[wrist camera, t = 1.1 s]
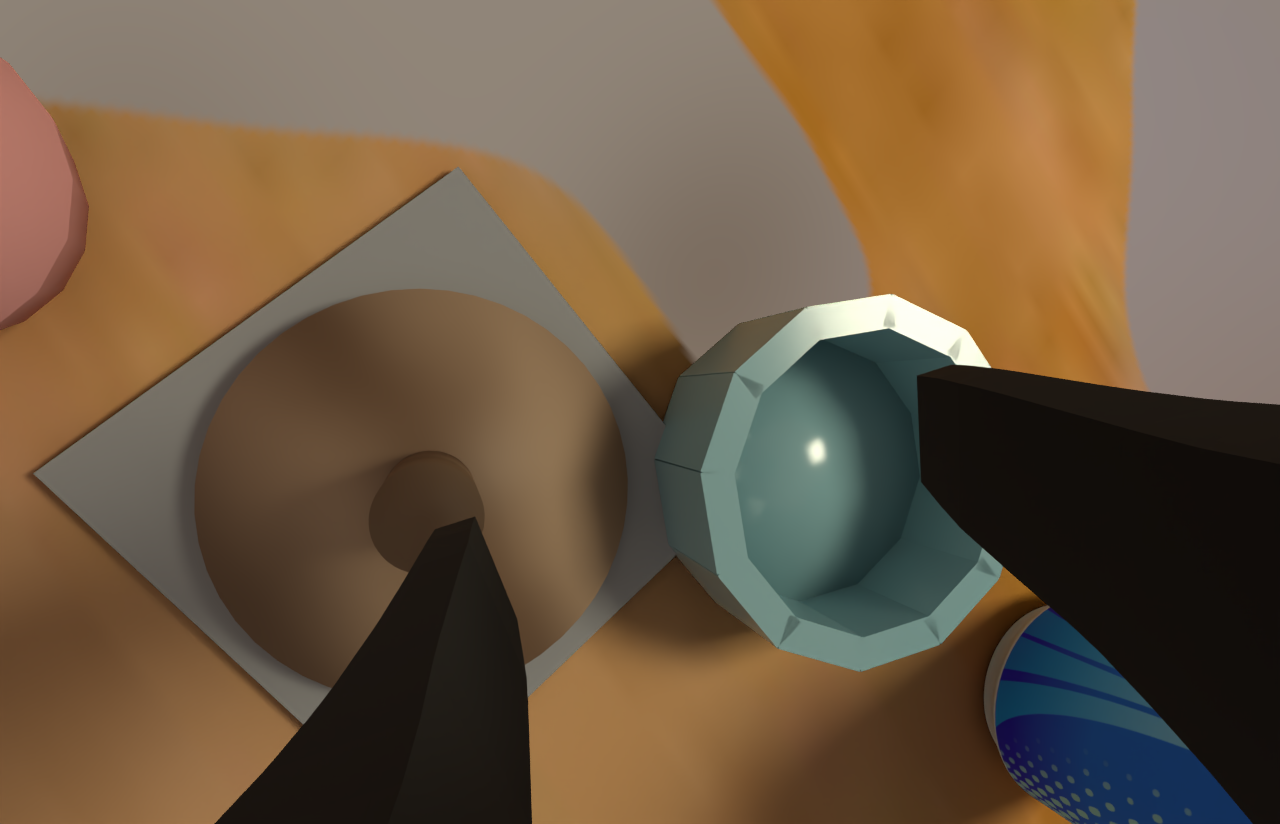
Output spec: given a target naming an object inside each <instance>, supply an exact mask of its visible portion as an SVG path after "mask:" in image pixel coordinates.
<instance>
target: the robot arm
mask: <svg viewBox="0 0 1280 824" xmlns="http://www.w3.org/2000/svg"><path fill="white" fill-rule="evenodd" d="M917 397H918V422H919V447H920V471H921V483H922V484H923V485H924V486H925V488H926V489H927V490H928V491H929V492H930V494H931V495H932V496H933V497H934V499H935V500H936V501H937V502H938V503H939V505H940V506H941V507H942V508H943V509H944V510H945V512H946V513H947V514H948V515H949V516H950V517H951V518H952V519H953V520H954V522H955V523H956V524H957V525H958V526H959V527H960V528H961V529H962V530H963V531H964V532H965V533H966V534H967V535H968V536H970V537H971V538H972V539H973V540H974V541H975V542H976V543H977V544H978V545H980V546H981V547H982V548H983V549H984V550H985V551H986V552H987V553H989V554H990V555H991V556H992V557H993V558H994V559H995V560H996V561H998V562H999V563H1000V564H1001V565H1002V566H1003V567H1004V568H1006V569H1007V570H1008V571H1009V572H1010V573H1011V574H1013V575H1014V576H1015V577H1016V578H1017V579H1018V580H1019V581H1021V582H1022V583H1023V584H1024V585H1025V586H1026V587H1028V588H1029V589H1030V590H1031V591H1032V592H1033V593H1034V594H1036V595H1037V596H1038V597H1039V598H1040V599H1041V600H1042V601H1044V602H1045V603H1046V604H1047V605H1048V606H1049V607H1050V608H1052V609H1053V610H1054V611H1055V612H1056V613H1057V614H1059V615H1060V616H1061V617H1062V618H1063V619H1064V620H1065V621H1067V622H1068V623H1069V624H1070V625H1071V626H1072V627H1073V628H1074V629H1076V630H1077V631H1078V632H1079V633H1080V634H1081V635H1082V636H1083V637H1084V638H1085V639H1086V640H1087V641H1088V642H1089V643H1090V644H1091V645H1093V646H1094V647H1095V648H1096V649H1097V650H1098V651H1099V652H1100V653H1101V654H1102V655H1103V656H1104V657H1105V658H1106V659H1107V661H1108V662H1109V663H1110V664H1111V665H1112V666H1113V667H1114V668H1115V669H1116V670H1117V671H1118V672H1119V673H1120V674H1121V675H1122V676H1123V677H1124V678H1125V680H1126V681H1127V682H1128V683H1129V684H1130V685H1131V686H1132V687H1133V688H1134V689H1135V690H1136V691H1137V692H1138V693H1139V694H1140V695H1141V696H1142V698H1143V699H1144V700H1145V701H1146V702H1147V703H1148V704H1149V705H1150V706H1151V707H1152V708H1153V709H1154V710H1155V711H1156V713H1157V714H1158V715H1159V716H1160V717H1161V718H1162V719H1163V720H1164V722H1165V723H1166V724H1167V725H1168V726H1169V727H1170V728H1171V729H1172V731H1173V732H1174V733H1175V734H1176V735H1177V736H1178V737H1179V738H1180V740H1181V741H1182V742H1183V743H1184V744H1185V745H1186V746H1187V747H1188V748H1189V750H1190V751H1191V752H1192V753H1193V754H1194V755H1195V756H1196V757H1197V759H1198V760H1199V761H1200V762H1201V763H1202V764H1203V765H1204V766H1205V768H1206V769H1207V770H1208V771H1209V772H1210V773H1211V774H1212V776H1213V777H1214V778H1215V779H1216V780H1217V782H1218V783H1219V784H1220V785H1221V786H1222V788H1223V789H1224V790H1225V791H1226V792H1227V794H1228V795H1229V796H1230V797H1231V798H1232V800H1233V801H1234V802H1235V803H1236V804H1237V806H1238V807H1239V808H1240V809H1241V810H1242V811H1243V813H1244V814H1245V815H1246V816H1247V817H1248V819H1249V820H1250V821H1251V822H1252V823H1253V824H1280V405H1276V404H1262V403H1247V402H1233V401H1223V400H1213V399H1203V398H1194V397H1186V396H1177V395H1169V394H1161V393H1153V392H1145V391H1138V390H1131V389H1124V388H1117V387H1110V386H1103V385H1097V384H1090V383H1084V382H1078V381H1072V380H1065V379H1059V378H1053V377H1047V376H1041V375H1034V374H1028V373H1022V372H1016V371H1009V370H1002V369H995V368H988V367H979V366H969V365H948V366H945V367H942V368H939V369H936V370H933V371H930V372H926V373H923V374H920V375H917ZM215 824H532V810H531V779H530V748H529V719H528V693H527V676H526V670H525V663H524V657H523V650H522V644H521V638H520V632H519V627H518V621H517V617H516V614H515V612H514V610H513V607H512V605H511V602H510V600H509V597H508V595H507V593H506V590H505V588H504V585H503V583H502V580H501V578H500V576H499V573H498V571H497V568H496V566H495V563H494V561H493V559H492V556H491V554H490V551H489V549H488V546H487V544H486V542H485V539H484V537H483V534H482V532H481V529H480V527H479V524H478V522H477V520H476V517H472V518H468V519H465V520H462V521H459V522H456V523H453V524H450V525H446V526H443V527H440V528H437V529H435V530H434V531H433V533H432V534H431V536H430V537H429V539H428V541H427V542H426V544H425V546H424V547H423V549H422V551H421V552H420V554H419V556H418V557H417V559H416V561H415V563H414V564H413V566H412V568H411V569H410V571H409V573H408V574H407V576H406V578H405V579H404V581H403V583H402V584H401V586H400V588H399V589H398V591H397V592H396V594H395V596H394V597H393V599H392V600H391V602H390V604H389V605H388V607H387V608H386V610H385V612H384V613H383V615H382V616H381V618H380V620H379V621H378V623H377V624H376V626H375V627H374V629H373V630H372V632H371V633H370V635H369V636H368V637H367V639H366V640H365V642H364V643H363V645H362V646H361V647H360V649H359V650H358V652H357V653H356V655H355V656H354V657H353V659H352V660H351V662H350V663H349V665H348V666H347V668H346V669H345V670H344V672H343V673H342V675H341V676H340V678H339V679H338V680H337V682H336V683H335V685H334V686H333V687H332V689H331V690H330V691H329V693H328V694H327V695H326V697H325V698H324V699H323V701H322V702H321V703H320V704H319V706H318V707H317V708H316V709H315V711H314V712H313V713H312V715H311V716H310V717H309V718H308V720H307V721H306V722H305V723H304V724H303V726H302V727H301V728H300V729H299V730H298V732H297V733H296V734H295V735H294V736H293V738H292V739H291V740H290V741H289V742H288V744H287V745H286V746H285V747H284V748H283V750H282V751H281V752H280V753H279V754H278V756H277V757H276V758H275V759H274V760H273V761H272V763H271V764H270V765H269V766H268V767H267V768H266V769H265V771H264V772H263V773H262V774H261V775H260V776H259V777H258V778H257V779H256V780H255V781H254V782H253V783H252V785H251V786H250V787H249V788H248V789H247V790H246V791H245V792H244V793H243V794H242V795H241V796H240V797H239V798H238V799H237V800H236V802H235V803H234V804H233V805H232V806H231V807H230V808H229V809H228V810H227V811H226V812H225V813H224V814H223V815H222V816H221V817H220V819H219V820H218V821H217V822H216V823H215Z"/></svg>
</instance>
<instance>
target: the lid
mask: <svg viewBox="0 0 1280 824" xmlns="http://www.w3.org/2000/svg"><path fill="white" fill-rule="evenodd" d="M627 493H628V476H627V467H626V457H625V451H624V447H623V443H622V439H621V435H620V430H619V428H618V425H617V422H616V420H615V417H614V415H613V412H612V409H611V407H610V405H609V403H608V401H607V399H606V397H605V396H604V394H603V392H602V390H601V388H600V386H599V385H598V383H597V382H596V380H595V379H594V378H593V376H592V375H591V373H590V372H589V371H588V369H587V368H586V366H585V365H584V364H583V363H582V362H581V361H580V360H579V359H578V357H577V356H576V355H575V354H574V353H573V352H572V351H571V350H570V349H569V348H568V347H567V346H566V345H565V344H564V343H563V342H561V341H560V340H559V339H558V338H557V337H555V336H554V335H553V334H552V333H551V332H549V331H548V330H547V329H545V328H544V327H542V326H541V325H539V324H537V323H536V322H534V321H533V320H531V319H530V318H528V317H527V316H525V315H523V314H521V313H519V312H516V311H514V310H512V309H510V308H508V307H506V306H504V305H502V304H499V303H496V302H493V301H490V300H487V299H484V298H480V297H477V296H474V295H469V294H464V293H458V292H453V291H448V290H433V289H404V290H390V291H384V292H379V293H373V294H368V295H363V296H359V297H356V298H353V299H350V300H347V301H344V302H341V303H338V304H334V305H332V306H330V307H328V308H326V309H324V310H322V311H319V312H317V313H315V314H313V315H311V316H309V317H307V318H305V319H304V320H302V321H300V322H299V323H297V324H296V325H294V326H293V327H291V328H290V329H288V330H286V331H285V332H283V333H282V334H281V335H279V336H278V337H277V338H276V339H275V340H273V341H272V342H271V343H270V344H269V345H267V346H266V347H265V348H264V349H263V350H262V351H260V352H259V353H258V354H257V355H256V356H255V358H254V359H253V360H252V361H251V362H250V363H249V364H248V365H247V366H246V368H245V369H244V370H243V371H242V372H241V373H240V374H239V375H238V377H237V378H236V380H235V381H234V383H233V384H232V386H231V387H230V389H229V390H228V392H227V393H226V394H225V396H224V397H223V399H222V400H221V403H220V405H219V407H218V409H217V411H216V413H215V415H214V417H213V419H212V421H211V423H210V425H209V427H208V430H207V433H206V437H205V440H204V443H203V446H202V449H201V452H200V455H199V461H198V468H197V474H196V480H195V505H194V515H195V522H196V529H197V536H198V543H199V546H200V550H201V553H202V556H203V560H204V563H205V566H206V570H207V572H208V574H209V576H210V578H211V581H212V583H213V585H214V587H215V589H216V591H217V593H218V595H219V597H220V599H221V600H222V602H223V603H224V605H225V606H226V608H227V609H228V611H229V612H230V614H231V615H232V617H233V618H234V620H235V621H236V622H237V623H238V624H239V625H240V627H241V628H242V629H243V630H244V631H245V632H246V633H247V634H248V635H249V636H250V637H251V639H252V640H253V641H254V642H255V643H256V644H258V645H259V646H260V647H261V648H262V649H264V650H265V651H266V652H267V653H269V654H270V655H271V656H272V657H273V658H275V659H276V660H277V661H279V662H280V663H282V664H284V665H285V666H287V667H289V668H290V669H292V670H294V671H295V672H297V673H298V674H300V675H302V676H304V677H306V678H309V679H311V680H313V681H316V682H318V683H320V684H322V685H325V686H327V687H330V688H332V687H333V686H334V685H335V683H336V682H337V680H338V679H339V678H340V676H341V675H342V673H343V672H344V670H345V669H346V668H347V666H348V665H349V663H350V662H351V660H352V659H353V657H354V656H355V655H356V653H357V652H358V650H359V649H360V647H361V646H362V645H363V643H364V642H365V640H366V639H367V637H368V636H369V635H370V633H371V632H372V630H373V629H374V627H375V626H376V624H377V623H378V621H379V620H380V618H381V616H382V615H383V613H384V612H385V610H386V608H387V607H388V605H389V604H390V602H391V600H392V599H393V597H394V596H395V594H396V592H397V591H398V589H399V588H400V586H401V584H402V583H403V581H404V579H405V578H406V576H407V574H408V573H409V571H410V569H411V568H412V566H413V564H414V563H415V561H416V559H417V557H418V556H419V554H420V552H421V551H422V549H423V547H424V546H425V544H426V542H427V541H428V539H429V537H430V536H431V534H432V533H433V531H434V530H435V529H437V528H440V527H443V526H446V525H450V524H453V523H456V522H459V521H462V520H465V519H468V518H472V517H476V520H477V522H478V524H479V527H480V529H481V532H482V534H483V537H484V539H485V542H486V544H487V546H488V549H489V551H490V554H491V556H492V559H493V561H494V563H495V566H496V568H497V571H498V573H499V576H500V578H501V580H502V583H503V585H504V588H505V590H506V593H507V595H508V597H509V600H510V602H511V605H512V607H513V610H514V612H515V614H516V617H517V621H518V627H519V632H520V638H521V644H522V650H523V657H524V663H525V665H526V664H527V663H529V662H530V661H532V660H533V659H535V658H536V657H538V656H539V655H541V654H542V653H543V652H545V651H546V650H547V649H548V648H549V647H550V646H552V645H553V644H554V643H555V642H556V641H558V640H559V639H560V638H561V637H562V636H563V635H564V634H565V633H566V632H567V631H568V630H569V629H570V628H571V627H572V626H573V624H574V623H575V622H576V621H577V620H578V619H579V618H580V617H581V615H582V614H583V613H584V611H585V610H586V609H587V607H588V606H589V605H590V603H591V602H592V600H593V599H594V598H595V596H596V594H597V593H598V591H599V589H600V587H601V585H602V584H603V582H604V580H605V578H606V577H607V575H608V572H609V570H610V568H611V565H612V563H613V560H614V558H615V556H616V553H617V550H618V546H619V543H620V539H621V536H622V532H623V528H624V522H625V515H626V509H627Z"/></svg>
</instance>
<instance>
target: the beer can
mask: <svg viewBox="0 0 1280 824" xmlns="http://www.w3.org/2000/svg"><path fill="white" fill-rule="evenodd" d="M984 710H985V716H986V721H987V724H988V728H989V730H990V733H991V736H992V738H993V740H994V741H995V743H996V745H997V747H998V750H999V753H1000V756H1001V758H1002V761H1003V763H1004V765H1005V767H1006V769H1007V770H1008V772H1009V774H1010V775H1011V777H1012V778H1013V779H1014V780H1015V782H1016V783H1017V784H1018V785H1019V786H1020V787H1021V788H1022V789H1023V790H1024V791H1025V792H1027V793H1028V794H1029V795H1031V796H1032V797H1034V798H1035V799H1037V800H1038V801H1040V802H1041V803H1043V804H1044V805H1046V806H1047V807H1049V808H1050V809H1052V810H1053V811H1055V812H1056V813H1058V814H1059V815H1060V816H1062V817H1063V818H1065V819H1066V820H1068V821H1069V822H1071V823H1072V824H1253V823H1252V822H1251V821H1250V820H1249V819H1248V817H1247V816H1246V815H1245V814H1244V813H1243V811H1242V810H1241V809H1240V808H1239V807H1238V806H1237V804H1236V803H1235V802H1234V801H1233V800H1232V798H1231V797H1230V796H1229V795H1228V794H1227V792H1226V791H1225V790H1224V789H1223V788H1222V786H1221V785H1220V784H1219V783H1218V782H1217V780H1216V779H1215V778H1214V777H1213V776H1212V774H1211V773H1210V772H1209V771H1208V770H1207V769H1206V768H1205V766H1204V765H1203V764H1202V763H1201V762H1200V761H1199V760H1198V759H1197V757H1196V756H1195V755H1194V754H1193V753H1192V752H1191V751H1190V750H1189V748H1188V747H1187V746H1186V745H1185V744H1184V743H1183V742H1182V741H1181V740H1180V738H1179V737H1178V736H1177V735H1176V734H1175V733H1174V732H1173V731H1172V729H1171V728H1170V727H1169V726H1168V725H1167V724H1166V723H1165V722H1164V720H1163V719H1162V718H1161V717H1160V716H1159V715H1158V714H1157V713H1156V711H1155V710H1154V709H1153V708H1152V707H1151V706H1150V705H1149V704H1148V703H1147V702H1146V701H1145V700H1144V699H1143V698H1142V696H1141V695H1140V694H1139V693H1138V692H1137V691H1136V690H1135V689H1134V688H1133V687H1132V686H1131V685H1130V684H1129V683H1128V682H1127V681H1126V680H1125V678H1124V677H1123V676H1122V675H1121V674H1120V673H1119V672H1118V671H1117V670H1116V669H1115V668H1114V667H1113V666H1112V665H1111V664H1110V663H1109V662H1108V661H1107V659H1106V658H1105V657H1104V656H1103V655H1102V654H1101V653H1100V652H1099V651H1098V650H1097V649H1096V648H1095V647H1094V646H1093V645H1091V644H1090V643H1089V642H1088V641H1087V640H1086V639H1085V638H1084V637H1083V636H1082V635H1081V634H1080V633H1079V632H1078V631H1077V630H1076V629H1074V628H1073V627H1072V626H1071V625H1070V624H1069V623H1068V622H1067V621H1065V620H1064V619H1063V618H1062V617H1061V616H1060V615H1059V614H1057V613H1056V612H1055V611H1054V610H1053V609H1052V608H1050V607H1049V606H1048V605H1047V606H1044V607H1040V608H1038V609H1035V610H1033V611H1031V612H1029V613H1028V614H1026V615H1024V616H1023V617H1022V618H1020V619H1019V620H1018V621H1017V622H1015V623H1014V624H1013V625H1012V626H1011V628H1010V629H1009V630H1008V631H1007V632H1006V633H1005V635H1004V636H1003V638H1002V639H1001V640H1000V642H999V644H998V646H997V647H996V649H995V651H994V654H993V656H992V658H991V661H990V664H989V667H988V670H987V674H986V679H985V686H984Z"/></svg>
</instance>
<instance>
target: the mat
mask: <svg viewBox="0 0 1280 824" xmlns="http://www.w3.org/2000/svg"><path fill="white" fill-rule="evenodd" d="M404 289H433V290H448V291H453V292H458V293H464V294H469V295H474V296H477V297H480V298H484V299H487V300H490V301H493V302H496V303H499V304H502V305H504V306H506V307H508V308H510V309H512V310H514V311H516V312H519V313H521V314H523V315H525V316H527V317H528V318H530V319H531V320H533V321H534V322H536V323H537V324H539V325H541V326H542V327H544V328H545V329H547V330H548V331H549V332H551V333H552V334H553V335H554V336H555V337H557V338H558V339H559V340H560V341H561V342H563V343H564V344H565V345H566V346H567V347H568V348H569V349H570V350H571V351H572V352H573V353H574V354H575V355H576V356H577V357H578V359H579V360H580V361H581V362H582V363H583V364H584V365H585V366H586V368H587V369H588V371H589V372H590V373H591V375H592V376H593V378H594V379H595V380H596V382H597V383H598V385H599V386H600V388H601V390H602V392H603V394H604V396H605V397H606V399H607V401H608V403H609V405H610V407H611V409H612V412H613V415H614V417H615V420H616V422H617V425H618V428H619V430H620V435H621V439H622V443H623V447H624V451H625V457H626V467H627V476H628V493H627V509H626V515H625V522H624V528H623V532H622V536H621V539H620V543H619V546H618V550H617V553H616V556H615V558H614V560H613V563H612V565H611V568H610V570H609V572H608V575H607V577H606V578H605V580H604V582H603V584H602V585H601V587H600V589H599V591H598V593H597V594H596V596H595V598H594V599H593V600H592V602H591V603H590V605H589V606H588V607H587V609H586V610H585V611H584V613H583V614H582V615H581V617H580V618H579V619H578V620H577V621H576V622H575V623H574V624H573V626H572V627H571V628H570V629H569V630H568V631H567V632H566V633H565V634H564V635H563V636H562V637H561V638H560V639H559V640H558V641H556V642H555V643H554V644H553V645H552V646H550V647H549V648H548V649H547V650H546V651H545V652H543V653H542V654H541V655H539V656H538V657H536V658H535V659H533V660H532V661H530V662H529V663H527V664H526V665H525V670H526V676H527V693H528V697H529V696H530V695H531V694H532V693H533V692H534V691H535V690H536V689H537V688H538V687H539V686H540V685H541V684H542V683H543V682H544V681H545V680H546V679H547V678H548V677H550V676H551V675H552V674H553V673H554V672H555V671H556V670H557V669H558V668H559V667H560V666H561V665H562V664H563V663H564V662H565V661H566V660H567V659H568V658H569V657H570V656H571V655H573V654H574V653H575V652H576V651H577V650H578V649H579V648H580V647H581V646H582V645H583V644H584V643H585V642H586V641H587V640H588V639H589V638H590V637H591V636H592V635H593V634H594V633H595V632H597V631H598V630H599V629H600V628H601V627H602V626H603V625H604V624H605V623H606V622H607V621H608V620H609V619H610V618H611V617H612V616H613V615H614V614H615V613H616V612H617V611H618V610H620V609H621V608H622V607H623V606H624V605H625V604H626V603H627V602H628V601H629V600H630V599H631V598H632V597H633V596H634V595H635V594H636V593H637V592H638V591H639V590H640V589H641V588H642V587H644V586H645V585H646V584H647V583H648V582H649V581H650V580H651V579H652V578H653V577H654V576H655V575H656V574H657V573H658V572H659V571H660V570H661V569H662V568H663V567H664V566H665V565H666V564H668V563H669V562H670V561H671V560H672V559H673V558H674V557H675V556H676V555H677V554H676V553H675V552H674V551H673V549H672V548H671V547H670V546H669V544H668V539H667V533H666V527H665V521H664V515H663V509H662V503H661V497H660V491H659V485H658V479H657V473H656V467H655V461H654V460H655V455H656V452H657V449H658V446H659V443H660V440H661V438H662V435H663V432H664V429H665V426H666V425H665V424H664V423H663V422H662V420H661V419H660V418H659V417H658V415H657V414H656V413H655V412H654V410H653V409H652V408H651V407H650V405H649V404H648V403H647V402H646V400H645V399H644V398H643V397H642V395H641V394H640V393H639V392H638V390H637V389H636V388H635V387H634V385H633V384H632V383H631V382H630V380H629V379H628V378H627V377H626V375H625V374H624V373H623V372H622V370H621V369H620V368H619V367H618V365H617V364H616V363H615V362H614V360H613V359H612V358H611V357H610V355H609V354H608V353H607V352H606V350H605V349H604V348H603V347H602V345H601V344H600V343H599V342H598V340H597V339H596V338H595V337H594V335H593V334H592V333H591V332H590V330H589V329H588V328H587V327H586V325H585V324H584V323H583V322H582V320H581V319H580V318H579V317H578V315H577V314H576V313H575V312H574V310H573V309H572V308H571V307H570V305H569V304H568V303H567V302H566V300H565V299H564V298H563V297H562V295H561V294H560V293H559V292H558V290H557V289H556V288H555V287H554V285H553V284H552V283H551V282H550V280H549V279H548V278H547V277H546V275H545V274H544V273H543V272H542V270H541V269H540V268H539V267H538V265H537V264H536V263H535V262H534V260H533V259H532V258H531V257H530V255H529V254H528V253H527V252H526V250H525V249H524V248H523V247H522V245H521V244H520V243H519V242H518V240H517V239H516V238H515V237H514V235H513V234H512V233H511V232H510V230H509V229H508V228H507V227H506V225H505V224H504V223H503V222H502V220H501V219H500V218H499V217H498V215H497V214H496V213H495V212H494V210H493V209H492V208H491V207H490V205H489V204H488V203H487V202H486V200H485V199H484V198H483V197H482V195H481V194H480V193H479V192H478V190H477V189H476V188H475V187H474V185H473V184H472V183H471V182H470V180H469V179H468V178H467V177H466V175H465V174H464V173H463V172H462V170H461V169H460V168H459V167H457V168H456V169H454V170H453V171H452V172H450V173H449V174H448V175H446V176H445V177H443V178H442V179H441V180H439V181H438V182H436V183H435V184H434V185H432V186H431V187H429V188H428V189H427V190H425V191H424V192H423V193H421V194H420V195H418V196H417V197H416V198H414V199H413V200H411V201H410V202H409V203H407V204H406V205H405V206H403V207H402V208H400V209H399V210H398V211H396V212H395V213H393V214H392V215H391V216H389V217H388V218H387V219H385V220H384V221H382V222H381V223H380V224H378V225H377V226H375V227H374V228H373V229H371V230H370V231H369V232H367V233H366V234H364V235H363V236H362V237H360V238H359V239H357V240H356V241H355V242H353V243H352V244H350V245H349V246H348V247H346V248H345V249H344V250H342V251H341V252H339V253H338V254H337V255H335V256H334V257H332V258H331V259H330V260H328V261H327V262H326V263H324V264H323V265H321V266H320V267H319V268H317V269H316V270H314V271H313V272H312V273H310V274H309V275H308V276H306V277H305V278H303V279H302V280H301V281H299V282H298V283H296V284H295V285H294V286H292V287H291V288H290V289H288V290H287V291H285V292H284V293H283V294H281V295H280V296H278V297H277V298H276V299H274V300H273V301H271V302H270V303H269V304H267V305H266V306H265V307H263V308H262V309H260V310H259V311H258V312H256V313H255V314H253V315H252V316H251V317H249V318H248V319H247V320H245V321H244V322H242V323H241V324H240V325H238V326H237V327H235V328H234V329H233V330H231V331H230V332H229V333H227V334H226V335H224V336H223V337H222V338H220V339H219V340H217V341H216V342H215V343H213V344H212V345H210V346H209V347H208V348H206V349H205V350H204V351H202V352H201V353H199V354H198V355H197V356H195V357H194V358H192V359H191V360H190V361H188V362H187V363H186V364H184V365H183V366H181V367H180V368H179V369H177V370H176V371H174V372H173V373H172V374H170V375H169V376H168V377H166V378H165V379H163V380H162V381H161V382H159V383H158V384H156V385H155V386H154V387H152V388H151V389H150V390H148V391H147V392H145V393H144V394H143V395H141V396H140V397H138V398H137V399H136V400H134V401H133V402H131V403H130V404H129V405H127V406H126V407H125V408H123V409H122V410H120V411H119V412H118V413H116V414H115V415H113V416H112V417H111V418H109V419H108V420H107V421H105V422H104V423H102V424H101V425H100V426H98V427H97V428H95V429H94V430H93V431H91V432H90V433H89V434H87V435H86V436H84V437H83V438H82V439H80V440H79V441H77V442H76V443H75V444H73V445H72V446H71V447H69V448H68V449H66V450H65V451H64V452H62V453H61V454H59V455H58V456H57V457H55V458H54V459H52V460H51V461H50V462H48V463H47V464H46V465H44V466H43V467H41V468H40V469H39V470H37V471H36V472H34V473H33V474H34V475H35V476H36V477H37V478H39V479H40V480H41V481H42V482H43V483H44V484H45V485H46V486H47V487H48V488H49V489H50V490H51V491H53V492H54V493H55V494H56V495H57V496H58V497H59V498H60V499H61V500H62V501H63V502H64V503H65V504H66V505H68V506H69V507H70V508H71V509H72V510H73V511H74V512H75V513H76V514H77V515H78V516H79V517H80V518H82V519H83V520H84V521H85V522H86V523H87V524H88V525H89V526H90V527H91V528H92V529H93V530H94V531H96V532H97V533H98V534H99V535H100V536H101V537H102V538H103V539H104V540H105V541H106V542H107V543H108V544H110V545H111V546H112V547H113V548H114V549H115V550H116V551H117V552H118V553H119V554H120V555H121V556H122V557H124V558H125V559H126V560H127V561H128V562H129V563H130V564H131V565H132V566H133V567H134V568H135V569H136V570H138V571H139V572H140V573H141V574H142V575H143V576H144V577H145V578H146V579H147V580H148V581H149V582H150V583H152V584H153V585H154V586H155V587H156V588H157V589H158V590H159V591H160V592H161V593H162V594H163V595H164V596H165V597H167V598H168V599H169V600H170V601H171V602H172V603H173V604H174V605H175V606H176V607H177V608H178V609H179V610H181V611H182V612H183V613H184V614H185V615H186V616H187V617H188V618H189V619H190V620H191V621H192V622H193V623H195V624H196V625H197V626H198V627H199V628H200V629H201V630H202V631H203V632H204V633H205V634H206V635H207V636H209V637H210V638H211V639H212V640H213V641H214V642H215V643H216V644H217V645H218V646H219V647H220V648H221V649H223V650H224V651H225V652H226V653H227V654H228V655H229V656H230V657H231V658H232V659H233V660H234V661H235V662H237V663H238V664H239V665H240V666H241V667H242V668H243V669H244V670H245V671H246V672H247V673H248V674H249V675H251V676H252V677H253V678H254V679H255V680H256V681H257V682H258V683H259V684H260V685H261V686H262V687H263V688H264V689H266V690H267V691H268V692H269V693H270V694H271V695H272V696H273V697H274V698H275V699H276V700H277V701H278V702H280V703H281V704H282V705H283V706H284V707H285V708H286V709H287V710H288V711H289V712H290V713H291V714H292V715H294V716H295V717H296V718H297V719H298V720H299V721H300V722H301V723H302V724H304V723H305V722H306V721H307V720H308V718H309V717H310V716H311V715H312V713H313V712H314V711H315V709H316V708H317V707H318V706H319V704H320V703H321V702H322V701H323V699H324V698H325V697H326V695H327V694H328V693H329V691H330V690H331V689H332V688H330V687H327V686H325V685H322V684H320V683H318V682H316V681H313V680H311V679H309V678H306V677H304V676H302V675H300V674H298V673H297V672H295V671H294V670H292V669H290V668H289V667H287V666H285V665H284V664H282V663H280V662H279V661H277V660H276V659H275V658H273V657H272V656H271V655H270V654H269V653H267V652H266V651H265V650H264V649H262V648H261V647H260V646H259V645H258V644H256V643H255V642H254V641H253V640H252V639H251V637H250V636H249V635H248V634H247V633H246V632H245V631H244V630H243V629H242V628H241V627H240V625H239V624H238V623H237V622H236V621H235V620H234V618H233V617H232V615H231V614H230V612H229V611H228V609H227V608H226V606H225V605H224V603H223V602H222V600H221V599H220V597H219V595H218V593H217V591H216V589H215V587H214V585H213V583H212V581H211V578H210V576H209V574H208V572H207V570H206V566H205V563H204V560H203V556H202V553H201V550H200V546H199V543H198V536H197V529H196V522H195V515H194V505H195V480H196V474H197V468H198V461H199V455H200V452H201V449H202V446H203V443H204V440H205V437H206V433H207V430H208V427H209V425H210V423H211V421H212V419H213V417H214V415H215V413H216V411H217V409H218V407H219V405H220V403H221V400H222V399H223V397H224V396H225V394H226V393H227V392H228V390H229V389H230V387H231V386H232V384H233V383H234V381H235V380H236V378H237V377H238V375H239V374H240V373H241V372H242V371H243V370H244V369H245V368H246V366H247V365H248V364H249V363H250V362H251V361H252V360H253V359H254V358H255V356H256V355H257V354H258V353H259V352H260V351H262V350H263V349H264V348H265V347H266V346H267V345H269V344H270V343H271V342H272V341H273V340H275V339H276V338H277V337H278V336H279V335H281V334H282V333H283V332H285V331H286V330H288V329H290V328H291V327H293V326H294V325H296V324H297V323H299V322H300V321H302V320H304V319H305V318H307V317H309V316H311V315H313V314H315V313H317V312H319V311H322V310H324V309H326V308H328V307H330V306H332V305H334V304H338V303H341V302H344V301H347V300H350V299H353V298H356V297H359V296H363V295H368V294H373V293H379V292H384V291H390V290H404Z"/></svg>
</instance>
